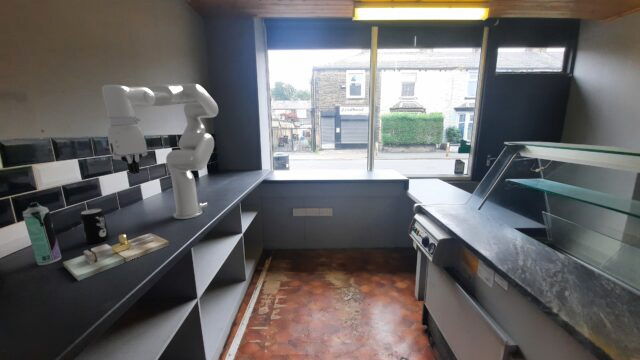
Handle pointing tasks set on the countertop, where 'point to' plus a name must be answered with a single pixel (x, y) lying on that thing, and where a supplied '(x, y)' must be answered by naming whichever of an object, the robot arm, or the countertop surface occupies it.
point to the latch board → (112, 256)
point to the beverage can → (94, 226)
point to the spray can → (41, 234)
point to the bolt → (118, 245)
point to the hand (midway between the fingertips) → (134, 173)
